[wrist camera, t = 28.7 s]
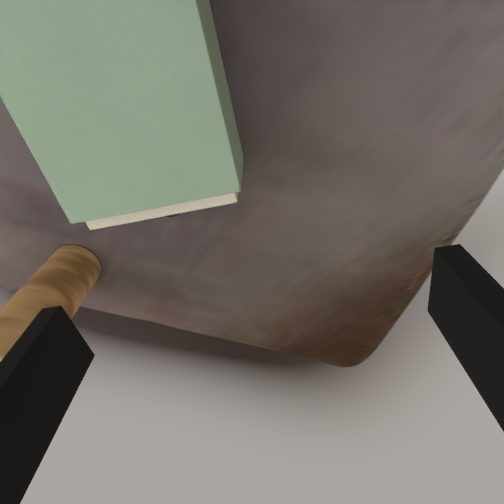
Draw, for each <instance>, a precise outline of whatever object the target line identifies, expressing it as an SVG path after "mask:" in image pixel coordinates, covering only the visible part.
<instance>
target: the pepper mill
mask: <svg viewBox="0 0 504 504" xmlns="http://www.w3.org/2000/svg"><path fill="white" fill-rule="evenodd" d="M100 274H101V265H100V262H99V260H98V259H97V257H96V256H95V255H94V254H93V253H91V252H90V251H89V250H87V249H85V248H83V247H80V246H75V245H66V246H62V247H60V248H59V249H57V250H56V251H55V252H54V253H53V254H52V255H51V256H50V257H49V259H48V260H47V261H46V262H45V263H44V264H43V265H42V266H41V267H40V268H39V269H38V270H37V271H36V272H35V273H34V274H33V275H32V276H31V277H30V279H29V280H28V281H27V282H26V283H25V284H24V285H23V286H22V287H21V288H20V289H19V290H18V291H17V292H16V293H15V294H14V296H12V298H11V299H10V300H9V301H8V302H7V303H6V304H5V305H4V306H3V307H2V308H1V309H0V362H1V360H2V359H3V358H4V356H5V355H6V354H7V353H8V351H9V350H10V349H11V348H12V346H13V345H14V344H15V342H16V341H17V340H18V339H19V337H20V336H21V335H22V333H23V332H24V331H25V330H26V328H27V327H28V326H29V325H30V323H31V322H32V321H33V319H34V318H35V317H36V316H37V314H38V313H39V312H40V311H41V309H42V308H48V307H54V306H62V307H63V309H64V310H65V312H66V313H67V315H68V316H69V318H70V319H72V317H73V316H74V314H75V313H76V311H77V310H78V308H79V307H80V305H81V304H82V302H83V301H84V299H85V298H86V296H87V295H88V293H89V292H90V290H91V289H92V287H93V286H94V284H95V283H96V281H97V280H98V278H99V276H100Z"/></svg>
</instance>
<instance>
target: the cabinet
mask: <svg viewBox="0 0 504 504" xmlns="http://www.w3.org/2000/svg"><path fill="white" fill-rule="evenodd" d="M0 97H1V98H2V100H3V102H4V104H5V106H6V107H7V109H8V111H9V113H10V115H11V117H12V118H13V120H14V122H15V124H16V126H17V127H18V129H19V131H20V133H21V135H22V136H23V138H24V140H25V142H26V144H27V145H28V147H29V149H30V151H31V153H32V155H33V156H34V158H35V160H36V162H37V164H38V165H39V167H40V169H41V171H42V173H43V174H44V176H45V178H46V180H47V182H48V183H49V185H50V187H51V189H52V191H53V192H54V194H55V196H56V198H57V200H58V202H59V203H60V205H61V207H62V209H63V211H64V212H65V214H66V216H67V218H68V220H69V221H70V223H71V224H75V223H80V222H85V221H90V220H95V219H101V218H106V217H111V216H116V215H121V214H127V213H132V212H137V211H142V210H147V209H153V208H158V207H163V206H168V205H173V204H179V203H184V202H189V201H194V200H199V199H205V198H210V197H215V196H220V195H225V194H231V193H236V192H240V191H241V184H242V173H243V162H244V157H243V152H242V148H241V143H240V139H239V134H238V130H237V125H236V120H235V116H234V111H233V107H232V102H231V98H230V93H229V89H228V84H227V79H226V75H225V70H224V66H223V61H222V57H221V52H220V47H219V43H218V38H217V34H216V29H215V25H214V20H213V15H212V11H211V6H210V2H209V0H0Z"/></svg>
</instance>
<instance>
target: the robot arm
mask: <svg viewBox="0 0 504 504" xmlns="http://www.w3.org/2000/svg"><path fill="white" fill-rule="evenodd" d="M428 312H429V314H430V315H431V317H432V318H433V320H434V322H435V323H436V325H437V326H438V328H439V330H440V331H441V333H442V334H443V336H444V337H445V339H446V341H447V342H448V344H449V345H450V347H451V349H452V350H453V352H454V353H455V355H456V357H457V358H458V360H459V361H460V363H461V364H462V366H463V368H464V369H465V371H466V372H467V374H468V376H469V377H470V379H471V380H472V382H473V384H474V385H475V387H476V388H477V390H478V392H479V393H480V395H481V396H482V398H483V400H484V401H485V403H486V404H487V406H488V408H489V409H490V411H491V412H492V414H493V415H494V417H495V418H496V420H497V422H498V423H499V425H500V427H501V428H502V430H503V431H504V288H502V286H500V284H499V283H497V281H496V280H495V279H494V278H493V277H492V276H491V275H490V274H489V273H488V272H487V271H486V270H485V269H484V268H483V267H482V266H481V265H480V264H479V263H478V262H477V261H476V260H475V259H474V258H473V257H472V256H471V255H470V254H469V253H468V252H467V251H466V250H465V249H464V248H463V247H462V246H461V245H460V244H458V245H451V246H444V247H438V248H435V250H434V259H433V268H432V277H431V286H430V294H429V302H428ZM93 358H94V353H93V352H92V351H91V349H90V348H89V346H88V345H87V343H86V342H85V340H84V339H83V337H82V336H81V334H80V333H79V331H78V330H77V328H76V327H75V325H74V324H73V322H72V321H71V319H70V318H69V316H68V315H67V313H66V312H65V310H64V309H63V307H62V306H54V307H48V308H42V309H41V311H40V312H39V313H38V314H37V316H36V317H35V318H34V319H33V321H32V322H31V323H30V325H29V326H28V327H27V328H26V330H25V331H24V332H23V333H22V335H21V336H20V337H19V339H18V340H17V341H16V342H15V344H14V345H13V346H12V348H11V349H10V350H9V351H8V353H7V354H6V355H5V356H4V358H3V359H2V360H1V362H0V504H20V502H21V500H22V498H23V496H24V494H25V492H26V490H27V488H28V486H29V485H30V483H31V480H32V479H33V477H34V475H35V473H36V471H37V469H38V467H39V465H40V463H41V461H42V459H43V457H44V455H45V453H46V451H47V449H48V447H49V445H50V443H51V441H52V439H53V437H54V435H55V433H56V431H57V429H58V427H59V425H60V423H61V421H62V419H63V417H64V415H65V413H66V411H67V409H68V407H69V405H70V403H71V401H72V399H73V397H74V395H75V393H76V391H77V389H78V387H79V385H80V383H81V381H82V379H83V377H84V375H85V373H86V371H87V369H88V367H89V366H90V363H91V362H92V360H93Z"/></svg>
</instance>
